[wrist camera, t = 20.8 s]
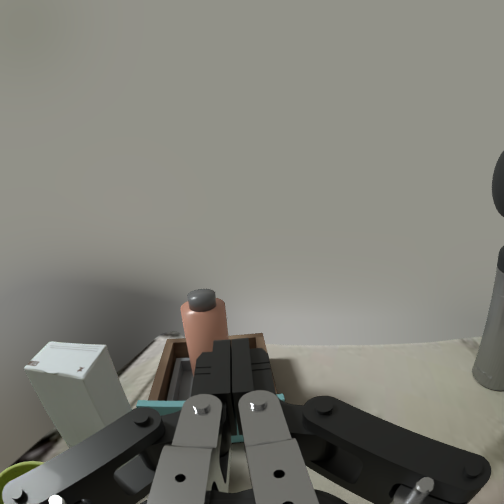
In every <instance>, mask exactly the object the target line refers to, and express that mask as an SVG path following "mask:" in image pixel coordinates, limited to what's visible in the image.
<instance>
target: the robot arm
mask: <svg viewBox="0 0 504 504" xmlns="http://www.w3.org/2000/svg"><path fill="white" fill-rule="evenodd" d="M492 195H493V200H494V204H495V206H496V209H497V210H498V212H499V213H500V214H501V215H502V216H503V217H504V151H503V152H502V154H501V155H500V157H499V159H498V161H497V164H496V166H495V170H494V174H493V180H492ZM472 372H473V376H474V377H475V379H476V380H477V381H478V382H479V383H480V384H481V385H483V386H485V387H486V388H489V389H492V390H498V391H503V390H504V246H503V247H502V248H501V249H500V252H499V256H498V263H497V270H496V277H495V282H494V288H493V294H492V299H491V303H490V308H489V313H488V317H487V321H486V325H485V329H484V333H483V336H482V340H481V343H480V347H479V350H478V353H477V357H476V360H475V363H474V366H473V369H472ZM237 425H238V431H239V435H243V439H244V446H245V452H246V458H247V463H248V469H249V474H250V480H251V485H252V489H249V490H245V491H241V492H238V493H228V486H229V474H230V461H231V436H236V435H237ZM138 454H139V455H138ZM137 455H138V456H137ZM135 456H137V457H136V458H134V457H135ZM132 458H134V459H133V460H131V459H132ZM129 460H131V461H130V462H128V461H129ZM127 462H128V463H127ZM125 463H127V464H126V465H124V464H125ZM122 465H124V466H123V467H121V466H122ZM305 465H306V466H307V467H309V468H310V469H312V470H314V471H315V472H317V473H319V474H320V475H322V476H324V477H325V478H327V479H329V480H331V481H332V482H334V483H336V484H338V485H339V486H341V487H343V488H345V489H347V490H349V491H351V492H352V493H354V494H356V495H358V496H360V497H362V498H364V499H366V500H368V501H370V502H372V503H374V504H468V503H469V502H470V501H471V500H472V499H473V497H474V496H475V495H476V494H477V493H478V492H479V491H480V490H481V489H482V487H483V486H484V485H485V484H486V483H487V481H488V480H489V478H490V475H491V466H490V464H489V462H488V461H487V460H486V459H485V458H484V457H482V456H480V455H478V454H475V453H471V452H468V451H465V450H462V449H459V448H456V447H453V446H450V445H447V444H444V443H442V442H439V441H436V440H433V439H431V438H428V437H425V436H423V435H420V434H417V433H415V432H412V431H410V430H407V429H405V428H402V427H400V426H397V425H395V424H392V423H390V422H388V421H385V420H383V419H380V418H378V417H376V416H374V415H371V414H369V413H367V412H364V411H362V410H360V409H358V408H356V407H353V406H351V405H349V404H347V403H345V402H343V401H341V400H338V399H336V398H334V397H330V396H318V397H314V398H312V399H310V400H308V401H307V402H306V403H305V405H304V406H302V405H292V404H288V403H286V402H284V401H282V400H281V399H279V398H278V396H277V395H276V392H275V387H274V382H273V377H272V372H271V367H270V361H269V356H268V353H267V352H266V351H265V350H264V349H263V348H253V349H250V348H249V339H248V338H238V339H232V346H231V340H230V339H226V340H214V341H213V351H212V352H202V353H201V355H200V356H199V357H198V358H197V359H196V365H195V371H194V378H193V384H192V390H191V397H190V398H189V399H187V400H186V401H185V402H184V404H183V406H182V409H181V410H179V411H177V412H174V413H171V414H166V415H162V416H160V414H159V412H158V411H156V410H155V409H153V408H149V407H140V408H136V409H133V410H131V411H130V412H128V413H127V414H125V415H123V416H122V417H120V418H119V419H117V420H116V421H114V422H112V423H111V424H109V425H108V426H106V427H104V428H103V429H101V430H100V431H98V432H96V433H95V434H93V435H91V436H90V437H88V438H87V439H85V440H83V441H82V442H80V443H78V444H76V445H75V446H73V447H71V448H70V449H68V450H66V451H65V452H63V453H61V454H59V455H58V456H56V457H54V458H52V459H51V460H49V461H47V462H45V463H43V464H42V465H40V466H38V467H36V468H34V469H32V470H31V471H29V472H27V473H25V474H23V475H21V476H19V477H17V478H15V479H13V480H11V481H10V482H8V483H7V484H6V485H5V487H4V488H3V491H2V499H3V502H4V504H136V503H137V502H138V501H140V500H141V499H142V498H144V497H145V496H146V495H148V494H149V497H148V500H146V501H144V502H142V503H140V504H348V503H346V502H345V501H343V500H341V499H340V498H338V497H336V496H334V495H332V494H329V493H327V492H323V491H320V490H315V489H314V488H313V485H312V482H311V480H310V477H309V474H308V471H307V468H306V466H305ZM119 467H121V468H120V469H118V468H119ZM117 469H118V470H117ZM116 470H117V471H116Z"/></svg>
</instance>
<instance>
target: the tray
mask: <svg viewBox="0 0 504 504" xmlns="http://www.w3.org/2000/svg"><path fill="white" fill-rule="evenodd" d="M192 384H193V373H192V368H191V363H190V358H176V362H175V366H174V370H173V375H172V379H171V383H170V388H169V392H168V397H167V401H145V400H138V402H137V405H136V406H137V408H140V407H149V408H153V409H155V410H156V411H158V412H159V414H160V416H162V415H166V414H171V413H174V412H177V411H179V410H181V409H182V406H183V404H184V402H185V401H186V400H187V399H189V398H190V397H191V390H192ZM276 395H277V396H278V398H279V399H281V400H282V401H284V402H285V399H284V395H283V394H276ZM233 442H244V439H243V435H239V431H238V425H237V435H236V436H231V443H233Z"/></svg>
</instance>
